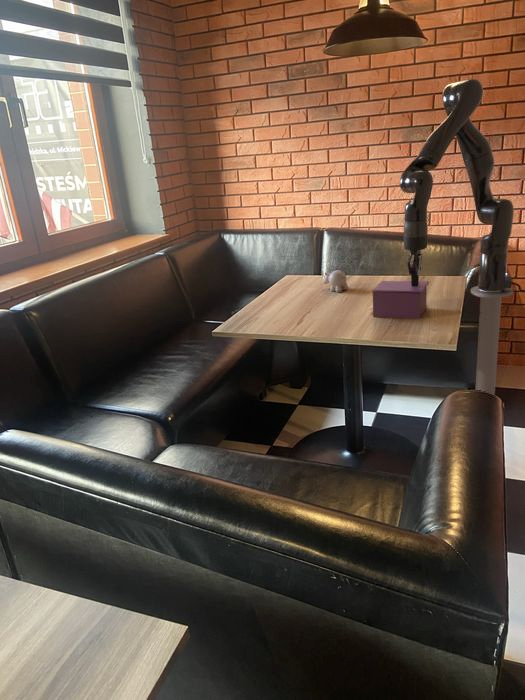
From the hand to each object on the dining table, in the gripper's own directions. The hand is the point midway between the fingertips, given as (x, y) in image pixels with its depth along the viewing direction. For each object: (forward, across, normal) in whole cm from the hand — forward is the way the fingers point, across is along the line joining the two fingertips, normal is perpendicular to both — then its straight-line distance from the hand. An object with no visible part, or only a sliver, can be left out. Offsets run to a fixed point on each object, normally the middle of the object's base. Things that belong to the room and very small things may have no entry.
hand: (414, 285), depth 181 cm
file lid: (+1, 0, +5) cm, 5 cm away
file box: (+10, 0, +5) cm, 11 cm away
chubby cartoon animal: (+10, +26, +38) cm, 47 cm away
